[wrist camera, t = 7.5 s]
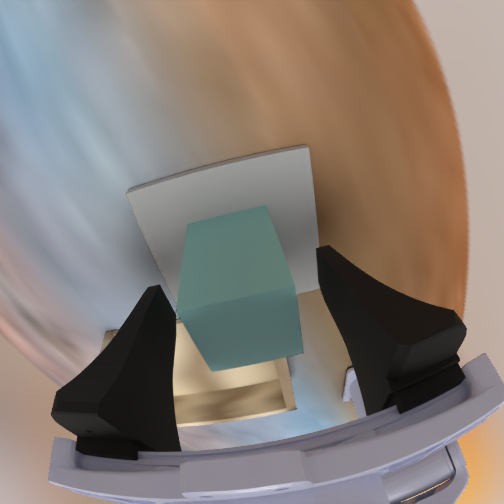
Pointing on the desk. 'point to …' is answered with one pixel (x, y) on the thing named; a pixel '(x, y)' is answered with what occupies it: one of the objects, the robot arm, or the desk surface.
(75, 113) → the desk surface
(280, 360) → the tan shallow tray
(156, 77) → the desk surface
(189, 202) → the pad
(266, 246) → the block
